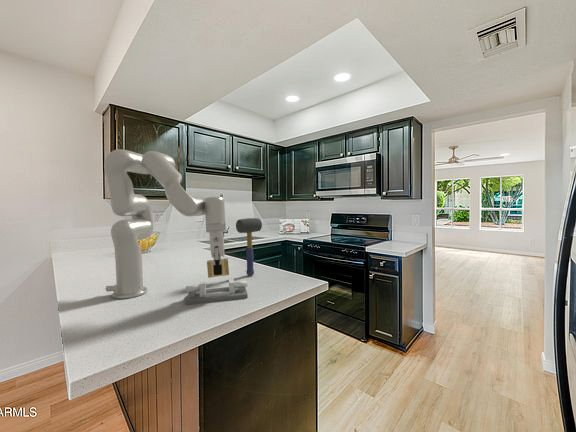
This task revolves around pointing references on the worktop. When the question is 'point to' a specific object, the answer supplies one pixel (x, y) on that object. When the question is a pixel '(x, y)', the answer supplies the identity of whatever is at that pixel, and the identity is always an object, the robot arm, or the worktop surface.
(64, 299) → the worktop surface
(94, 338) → the worktop surface
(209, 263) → the coupler
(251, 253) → the rubber mallet
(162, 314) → the worktop surface
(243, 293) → the shaft stand
